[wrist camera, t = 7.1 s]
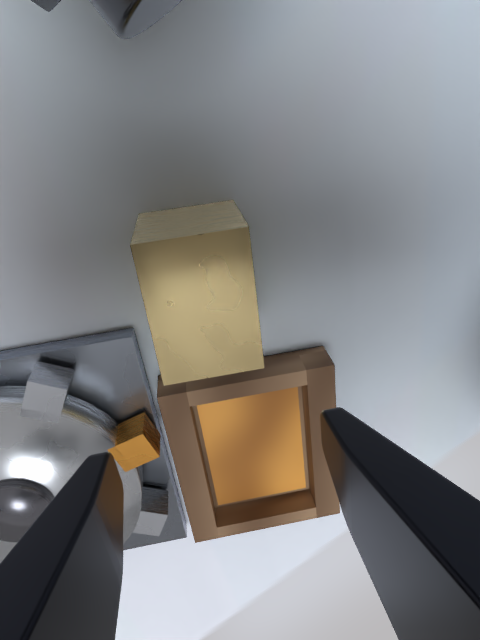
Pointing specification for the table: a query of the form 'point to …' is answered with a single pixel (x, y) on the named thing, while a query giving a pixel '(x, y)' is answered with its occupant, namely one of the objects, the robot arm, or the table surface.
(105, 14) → the pneumatic valve
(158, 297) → the tan rectangular block
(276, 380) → the brown open tray
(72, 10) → the table surface
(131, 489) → the sprocket
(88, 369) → the sprocket base
